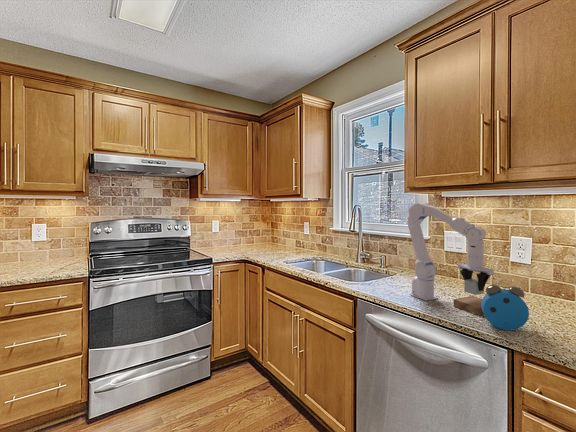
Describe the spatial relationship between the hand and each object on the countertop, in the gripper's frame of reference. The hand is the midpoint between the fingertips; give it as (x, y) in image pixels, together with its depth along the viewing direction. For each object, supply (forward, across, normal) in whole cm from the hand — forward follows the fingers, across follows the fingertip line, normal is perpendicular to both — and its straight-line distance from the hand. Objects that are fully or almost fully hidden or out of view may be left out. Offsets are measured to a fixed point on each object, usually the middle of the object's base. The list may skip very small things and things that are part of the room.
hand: (474, 288), depth 129 cm
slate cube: (+2, 0, 0) cm, 2 cm away
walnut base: (+8, 0, +1) cm, 9 cm away
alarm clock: (+9, +17, -9) cm, 21 cm away
